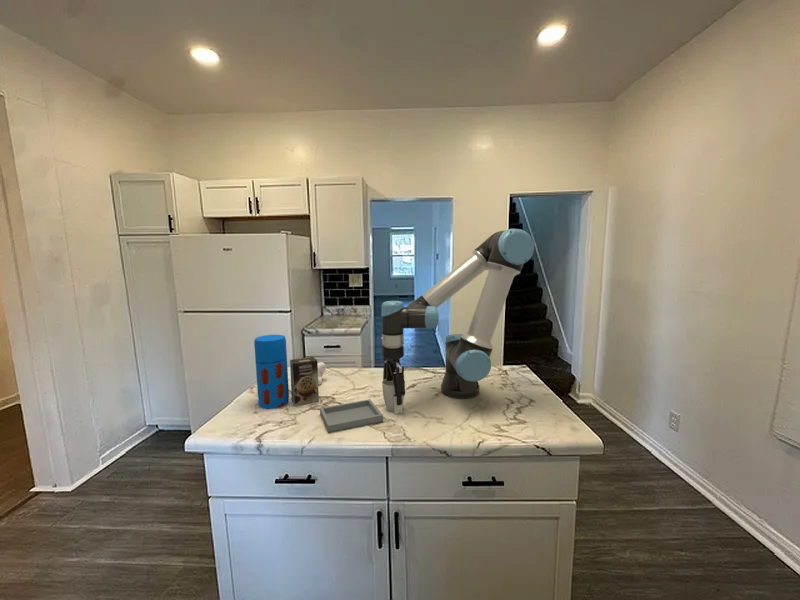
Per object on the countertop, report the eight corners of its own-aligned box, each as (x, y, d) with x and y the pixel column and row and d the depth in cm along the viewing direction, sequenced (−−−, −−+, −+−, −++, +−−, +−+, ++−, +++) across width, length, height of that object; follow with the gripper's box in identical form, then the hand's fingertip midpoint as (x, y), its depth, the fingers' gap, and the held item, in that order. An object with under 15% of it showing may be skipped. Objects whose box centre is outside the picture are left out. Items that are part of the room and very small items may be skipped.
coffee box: (294, 407, 129) (292, 364, 126) (291, 400, 134) (289, 359, 132) (319, 401, 133) (317, 360, 131) (315, 395, 138) (313, 355, 136)
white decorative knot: (292, 387, 148) (290, 366, 147) (305, 377, 160) (304, 358, 159) (316, 389, 146) (316, 367, 145) (328, 379, 157) (328, 359, 156)
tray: (370, 405, 129) (369, 399, 128) (383, 422, 116) (383, 414, 116) (320, 414, 122) (319, 408, 122) (328, 433, 109) (328, 425, 109)
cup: (402, 414, 121) (402, 386, 120) (380, 412, 123) (379, 385, 122) (407, 404, 129) (406, 378, 128) (385, 403, 131) (385, 377, 129)
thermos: (294, 402, 132) (291, 337, 129) (267, 412, 124) (262, 343, 121) (280, 395, 140) (276, 333, 136) (253, 403, 132) (248, 338, 129)
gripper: (373, 340, 131) (374, 399, 134) (393, 354, 112) (394, 422, 115) (392, 338, 134) (393, 396, 137) (415, 351, 115) (415, 418, 118)
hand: (393, 408), depth 126 cm, fingers closed on cup, 8 cm apart
